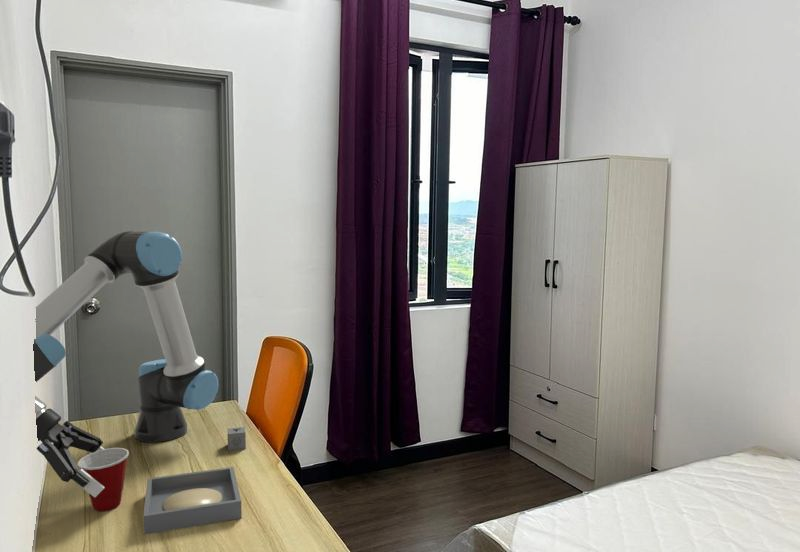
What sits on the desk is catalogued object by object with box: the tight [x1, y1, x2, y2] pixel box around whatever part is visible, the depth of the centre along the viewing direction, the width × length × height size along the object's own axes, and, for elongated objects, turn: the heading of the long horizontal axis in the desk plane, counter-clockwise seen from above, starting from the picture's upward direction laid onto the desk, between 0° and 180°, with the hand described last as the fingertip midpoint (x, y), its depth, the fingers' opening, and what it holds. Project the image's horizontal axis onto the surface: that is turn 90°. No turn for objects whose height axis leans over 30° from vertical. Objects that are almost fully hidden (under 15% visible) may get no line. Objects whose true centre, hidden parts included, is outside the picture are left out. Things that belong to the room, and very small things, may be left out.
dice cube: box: [226, 426, 247, 452], centre depth 178 cm, size 5×5×5 cm
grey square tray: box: [142, 466, 243, 535], centre depth 141 cm, size 20×20×4 cm
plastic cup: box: [77, 447, 130, 512], centre depth 140 cm, size 11×11×12 cm
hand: (109, 479), depth 140 cm, fingers open, 13 cm apart
